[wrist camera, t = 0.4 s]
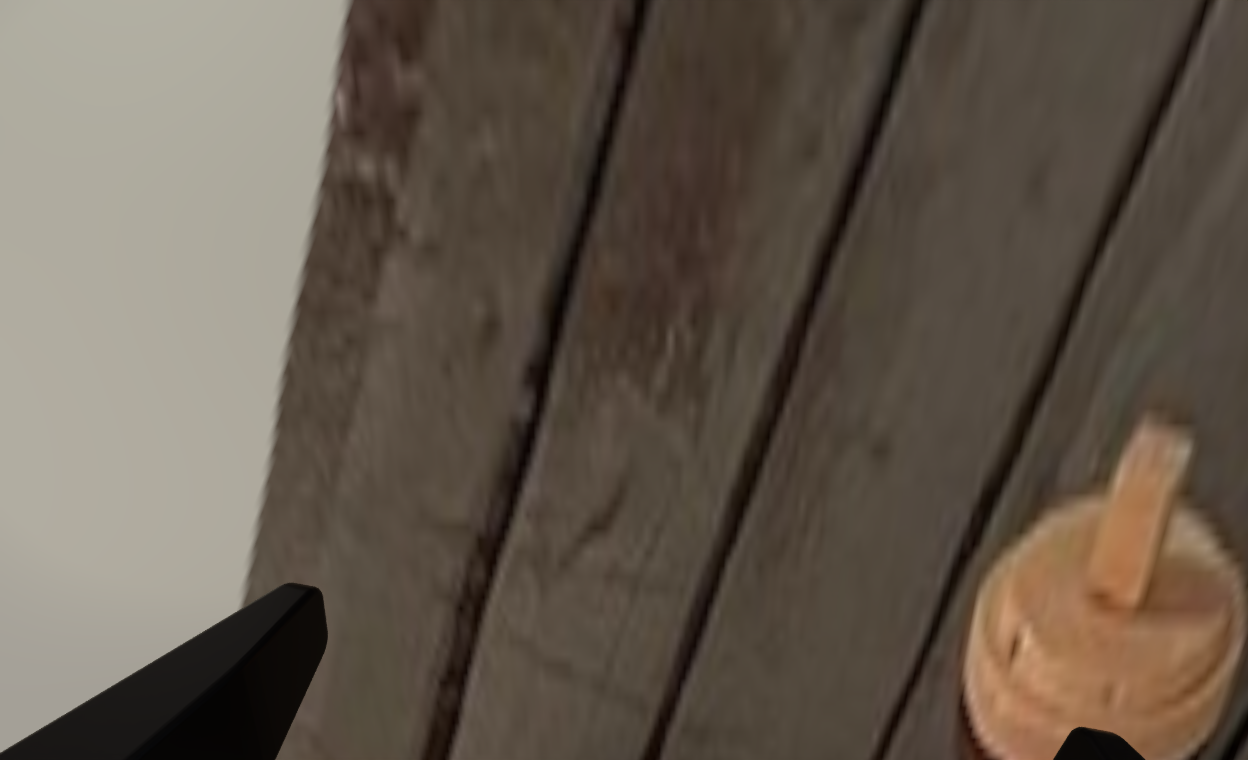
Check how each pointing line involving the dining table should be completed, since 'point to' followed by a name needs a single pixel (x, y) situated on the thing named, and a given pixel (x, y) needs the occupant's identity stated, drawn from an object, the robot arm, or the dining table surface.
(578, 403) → the dining table surface
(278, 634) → the robot arm
